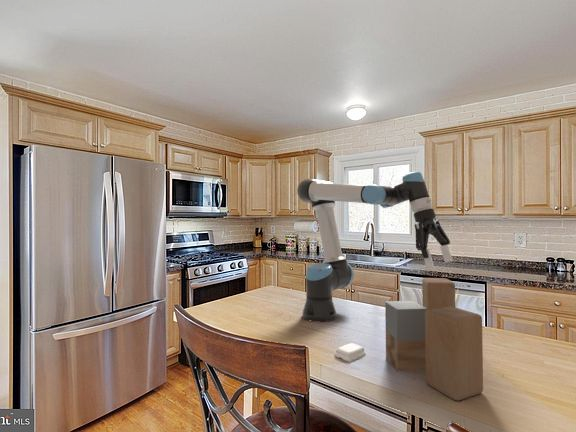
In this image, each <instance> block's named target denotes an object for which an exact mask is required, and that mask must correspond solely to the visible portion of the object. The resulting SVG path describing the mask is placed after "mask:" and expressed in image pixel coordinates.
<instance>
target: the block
mask: <svg viewBox="0 0 576 432" xmlns="http://www.w3.org/2000/svg"><path fill="white" fill-rule="evenodd" d="M483 347H484V346H483V316H482V315H481V314H478V313H476V312H473V311H469V310H465V309H461V308H459V307H456V306H455V307H452V306H449V307H442V308H436V309H430V310H426V312H425V355H426V370H425V382H426V384H427V385H428V386H430V387H432V388H433V389H435V390H437V391H439V392H440V393H442V394H444V395H445V396H447V397H449V398H450V399H452V400H455V401H458V402H459V401H461V400H464V399H468V398H470V397H474V396H477V395H480V394H482V393H483V391H484V367H483V366H484V363H483V361H484V360H483V359H484V357H483V355H484V354H483V350H484V349H483Z"/></svg>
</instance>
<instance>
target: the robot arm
mask: <svg viewBox="0 0 576 432" xmlns="http://www.w3.org/2000/svg"><path fill="white" fill-rule="evenodd" d="M296 194H297V196H298V198H299V199H300V200H301V201H302V202H304V203H307V204H311V207H312V210H313V211H315V213H316V219H317V223H318V229H319V234H320V240H321V244H322V249H323V254H324V260H323V261H322V262H320V263H314V264H311V265H309V266H308V267H307V268H306V271H305V273H306V274H305V286H306V287H305V290H306V291H305V292H306V300H305V304H304V306H303V310H302V318H303V317H304V318H305V320H306V319H307V321H309V320H311V321H310V322H314V321H320V322H319V323H324V322H325V323H326V321H327V322H331V320H332V321H335V320H336V319H337V311H336V308H335V307H336V306H335V304H334V302H333V291H337V290H339V289H341V290H342V289H344V288H347V287H348V286H350V285H351V284H352V282H353V281H354V277H355V271H354V269H353V267H352V266H351V265H350V264H349V263H348V260H347V258H346V257H345V256H343V251H342V246H341V243H340V236H339V232H338V228H337V223H336V218H335V217H336V216H335V211H334V208H335V206H336V202H345V203H356V204H357V203H358V204H368V205H379V206H380V207H382V208H384V209H388V208H392V207H393V206H395V205H398V204H401V203H403V202H406V201H408V202H409V205H410V208H411V212H412V213H413V218H414V221H415V224H414V230H415V248H416V249H417V250H418V251H420V252H421V254H422V255H421V256H422V258H423V261H424V263H425V267H426V268H431V267H435V264H434V261H433V258H432V253H431V251H430V249H429V248H428V244H429V243H428V242H429V237H430V235H431V236H433V237H434V239H435V240H436V241H437V242H438V243H439V245H440V247H439V248H440V250H441V253H442V256H443V257H442V258H443V260H444V263H449V262H450V263H451V262H454V261H453V257H452V254H451V252H450V248H449V246H448V245H451V241H450V239H449V237H448V236H447V234H446V232H445V231H444V229H443V227H442V226H441V223H440V221H439V220H435V221H434V219H435V218H437V216H436V212H435V210H434V208H433V204H432V199H431V198H430V195H429V191H428V189H427V185H426V181H425V178H424V177H423V174H422V172H420V171H413V172H408V173H407V174H405V175H403V176H402V182H400V183H399V184H396V185H393V186H387V185H380V184H376V183H375V184H372V183H371V184H362V183H361V184H357V183H356V184H355V183H336V182H335V183H333V182H331V181H328V180H325V179H315V178H307V179H303V180H302V181H300V182H299V184H298V185H297V189H296ZM304 318H303V319H304ZM335 318H336V319H335Z"/></svg>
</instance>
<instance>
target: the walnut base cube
mask: <svg viewBox="0 0 576 432" xmlns="http://www.w3.org/2000/svg"><path fill="white" fill-rule="evenodd" d="M385 359H386V360H387V361H388V362H389V364H390V365H391V366H392V367H393V368H394V370H396V371H397V372H400V373H401V372H417V371H421V372H422V371H426V355H425V339H423V340H398V341H397V340H396V339H395V338H394V337H393V336H392V335H391V334H390V333H389V332H387V331H386V330H385Z"/></svg>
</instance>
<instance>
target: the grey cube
mask: <svg viewBox="0 0 576 432" xmlns="http://www.w3.org/2000/svg"><path fill="white" fill-rule="evenodd" d="M384 307H385V316H384V317H385V332H386V331H387V332H389V333H390V334H391V335H392V336H393V337H394V338H395V339H396V340H397V341H398V340H423V339H425V312H426V310H427V308H425V307H423V305H421V304H419V303H418V302H416V301H415V300H397V301H395V300H393V301H391V300H389V301H387V300H386V301H385V304H384Z"/></svg>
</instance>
